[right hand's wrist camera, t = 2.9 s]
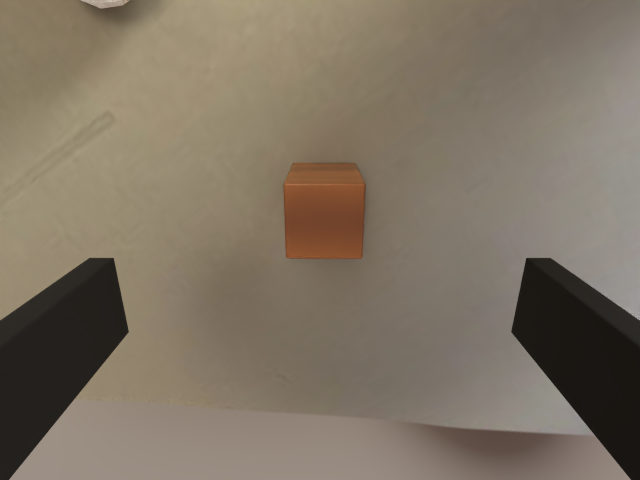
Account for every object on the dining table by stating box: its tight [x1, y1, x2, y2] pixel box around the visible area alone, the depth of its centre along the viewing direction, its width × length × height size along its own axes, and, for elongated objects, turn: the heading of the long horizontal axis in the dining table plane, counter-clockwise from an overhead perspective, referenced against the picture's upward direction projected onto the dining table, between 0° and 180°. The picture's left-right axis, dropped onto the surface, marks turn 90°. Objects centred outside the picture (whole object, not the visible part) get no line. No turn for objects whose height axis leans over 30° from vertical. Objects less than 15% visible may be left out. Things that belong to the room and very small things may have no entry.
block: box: [284, 163, 365, 258], centre depth 22 cm, size 4×4×6 cm
